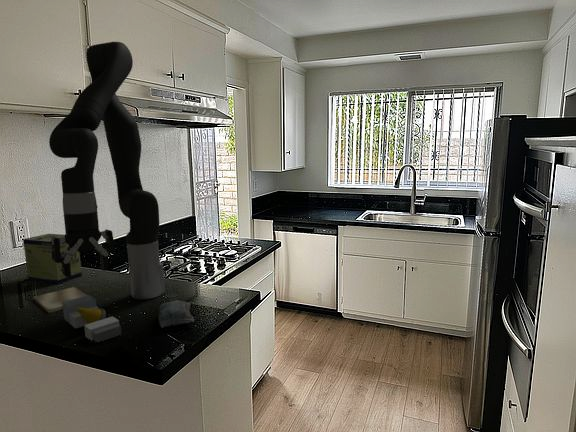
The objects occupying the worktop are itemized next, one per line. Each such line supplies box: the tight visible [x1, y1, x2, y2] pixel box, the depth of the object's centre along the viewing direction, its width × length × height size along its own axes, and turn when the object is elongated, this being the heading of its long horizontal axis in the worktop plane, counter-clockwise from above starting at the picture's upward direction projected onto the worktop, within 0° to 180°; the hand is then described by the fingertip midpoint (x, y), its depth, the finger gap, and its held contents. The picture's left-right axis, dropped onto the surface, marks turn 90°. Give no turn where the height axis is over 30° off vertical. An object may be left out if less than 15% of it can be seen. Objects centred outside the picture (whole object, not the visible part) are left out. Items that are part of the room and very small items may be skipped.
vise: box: [62, 294, 122, 343], centre depth 108 cm, size 7×22×5 cm, turn 45°
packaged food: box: [157, 299, 195, 329], centre depth 109 cm, size 9×12×5 cm
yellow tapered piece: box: [76, 307, 109, 324], centre depth 106 cm, size 5×5×10 cm
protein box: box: [22, 233, 83, 285], centre depth 150 cm, size 10×16×16 cm
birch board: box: [33, 286, 87, 314], centre depth 128 cm, size 12×16×1 cm
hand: (86, 273), depth 104 cm, fingers open, 8 cm apart
